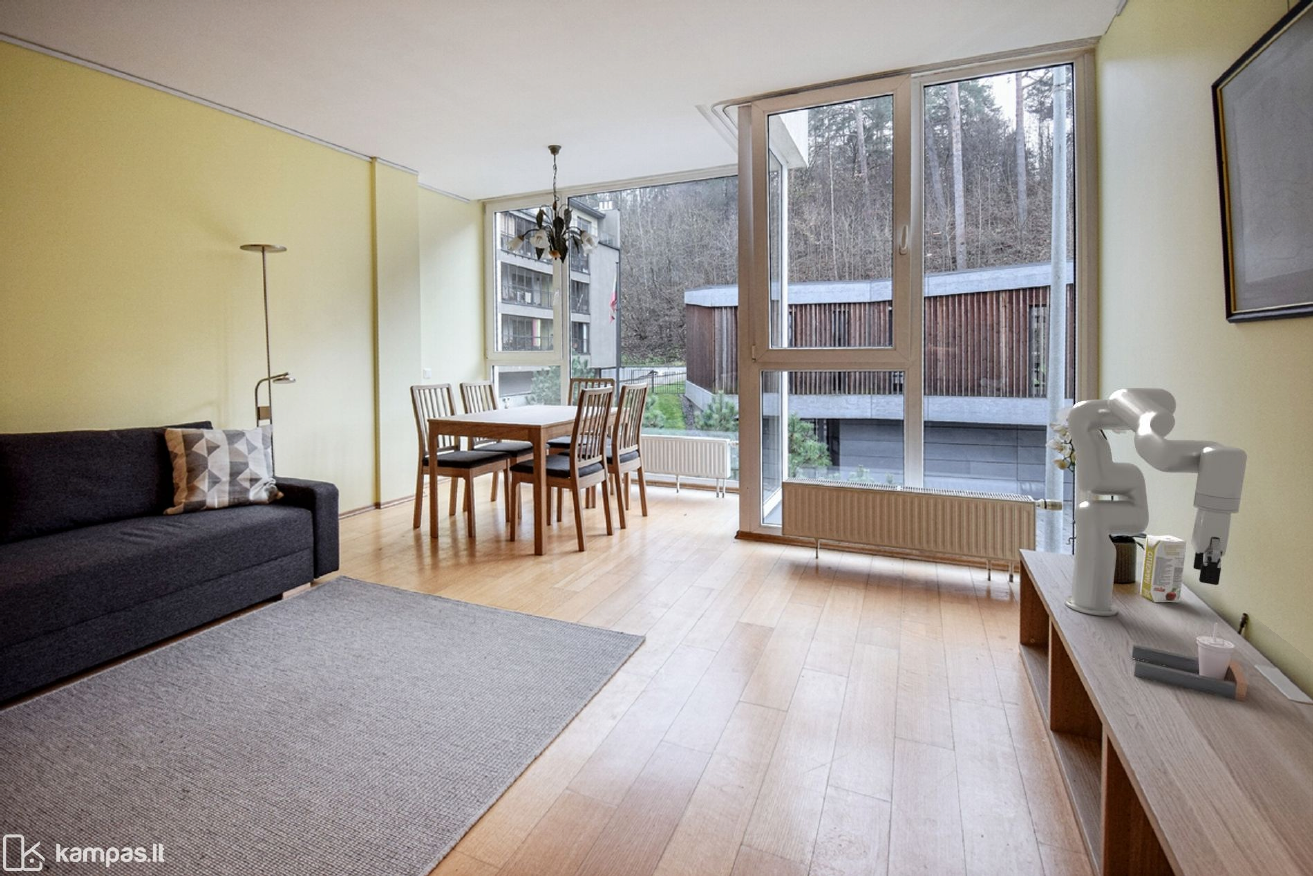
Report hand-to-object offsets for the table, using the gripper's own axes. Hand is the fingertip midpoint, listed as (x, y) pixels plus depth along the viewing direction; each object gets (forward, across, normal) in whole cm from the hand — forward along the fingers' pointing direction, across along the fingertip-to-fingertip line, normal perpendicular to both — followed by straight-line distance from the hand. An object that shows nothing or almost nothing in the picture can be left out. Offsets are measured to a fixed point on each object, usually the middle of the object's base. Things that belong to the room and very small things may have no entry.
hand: (1205, 576), depth 141 cm
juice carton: (+25, -52, -2) cm, 57 cm away
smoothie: (+23, +4, +3) cm, 24 cm away
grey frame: (+23, +4, -2) cm, 24 cm away
